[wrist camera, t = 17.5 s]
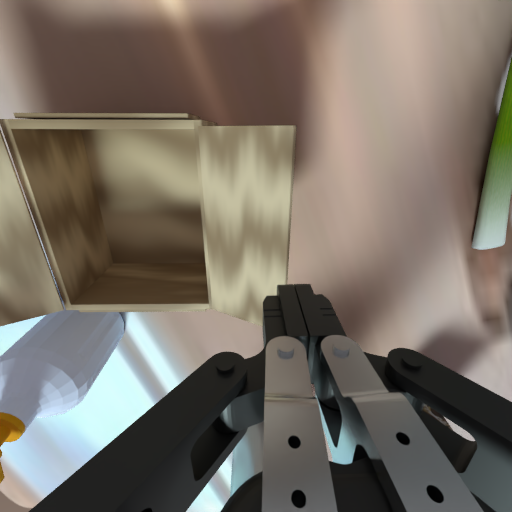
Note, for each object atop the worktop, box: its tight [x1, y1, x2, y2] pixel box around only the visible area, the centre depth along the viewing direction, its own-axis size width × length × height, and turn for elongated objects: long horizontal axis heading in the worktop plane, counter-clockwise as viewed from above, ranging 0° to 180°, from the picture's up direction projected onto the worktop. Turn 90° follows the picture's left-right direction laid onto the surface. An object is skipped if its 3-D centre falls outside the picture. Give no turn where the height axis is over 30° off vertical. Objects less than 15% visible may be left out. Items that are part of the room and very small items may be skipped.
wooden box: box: [0, 113, 217, 312], centre depth 26 cm, size 17×14×9 cm
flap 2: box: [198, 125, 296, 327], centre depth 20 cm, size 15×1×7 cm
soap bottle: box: [0, 301, 124, 483], centre depth 26 cm, size 9×9×25 cm
